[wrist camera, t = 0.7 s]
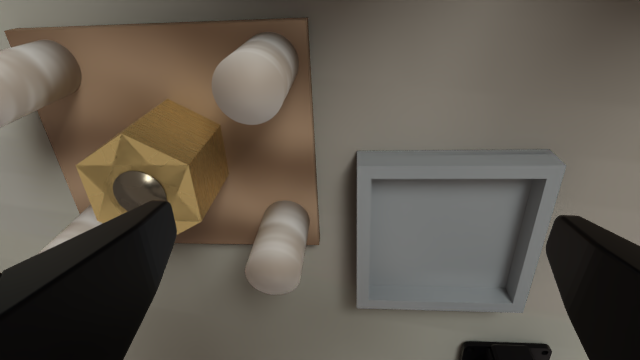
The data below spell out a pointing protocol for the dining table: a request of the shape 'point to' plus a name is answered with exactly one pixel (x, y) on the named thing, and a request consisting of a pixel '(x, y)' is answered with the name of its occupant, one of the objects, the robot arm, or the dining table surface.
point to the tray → (452, 227)
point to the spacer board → (197, 95)
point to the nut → (158, 166)
